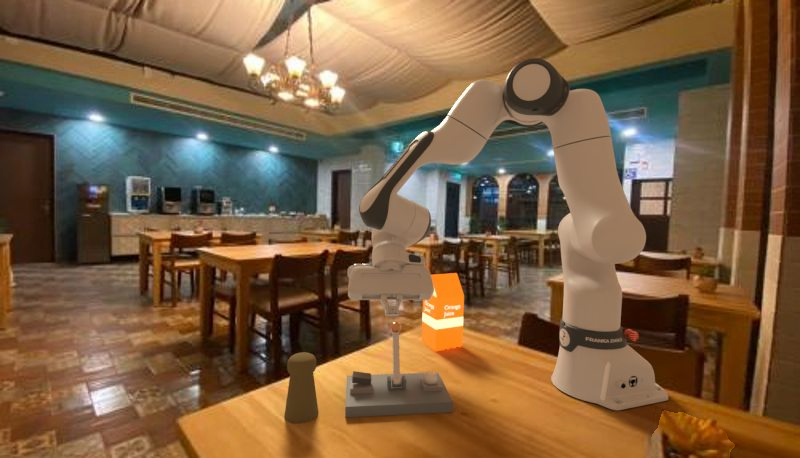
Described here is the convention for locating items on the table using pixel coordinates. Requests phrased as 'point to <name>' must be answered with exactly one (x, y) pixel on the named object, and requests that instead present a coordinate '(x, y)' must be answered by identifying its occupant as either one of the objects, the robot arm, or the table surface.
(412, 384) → the control panel
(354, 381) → the rocker switch
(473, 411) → the table surface
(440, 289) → the orange juice
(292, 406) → the brown pawn
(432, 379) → the push button
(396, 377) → the copper ball joystick
